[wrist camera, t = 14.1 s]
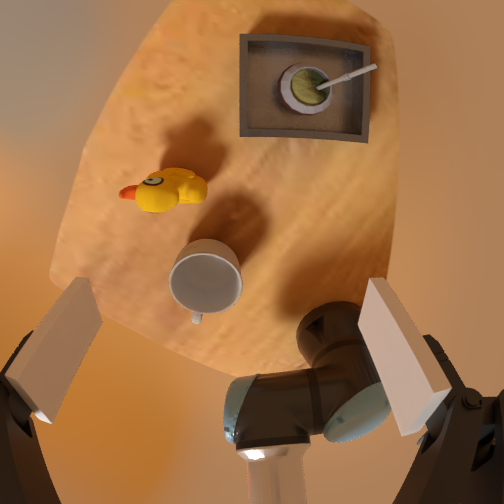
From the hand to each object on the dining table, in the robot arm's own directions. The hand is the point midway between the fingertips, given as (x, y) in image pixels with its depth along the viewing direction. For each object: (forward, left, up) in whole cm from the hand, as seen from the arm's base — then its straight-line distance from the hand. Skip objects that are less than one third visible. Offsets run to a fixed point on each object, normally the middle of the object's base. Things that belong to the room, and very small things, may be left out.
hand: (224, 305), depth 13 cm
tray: (+12, -9, -33) cm, 36 cm away
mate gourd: (+12, -9, -32) cm, 35 cm away
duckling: (-2, +10, -33) cm, 34 cm away
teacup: (-17, +6, -33) cm, 38 cm away
